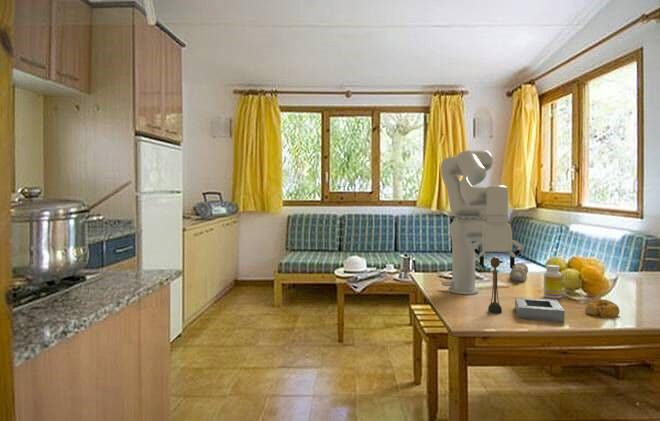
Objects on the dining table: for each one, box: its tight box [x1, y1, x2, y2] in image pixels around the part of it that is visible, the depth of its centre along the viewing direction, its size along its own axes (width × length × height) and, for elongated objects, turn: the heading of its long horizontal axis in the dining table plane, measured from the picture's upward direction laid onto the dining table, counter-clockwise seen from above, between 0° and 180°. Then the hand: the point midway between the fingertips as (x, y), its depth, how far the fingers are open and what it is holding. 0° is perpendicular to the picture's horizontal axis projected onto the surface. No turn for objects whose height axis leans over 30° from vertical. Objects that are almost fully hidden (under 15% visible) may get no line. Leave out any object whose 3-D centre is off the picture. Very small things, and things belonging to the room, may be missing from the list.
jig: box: [514, 296, 565, 323], centre depth 156 cm, size 14×15×4 cm
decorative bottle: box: [509, 262, 529, 282], centre depth 218 cm, size 26×8×7 cm, turn 153°
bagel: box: [584, 298, 621, 318], centre depth 157 cm, size 10×11×5 cm
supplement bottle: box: [543, 264, 563, 300], centre depth 182 cm, size 7×7×13 cm
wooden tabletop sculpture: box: [487, 256, 503, 315], centre depth 160 cm, size 6×5×20 cm
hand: (496, 267), depth 159 cm, fingers open, 9 cm apart
